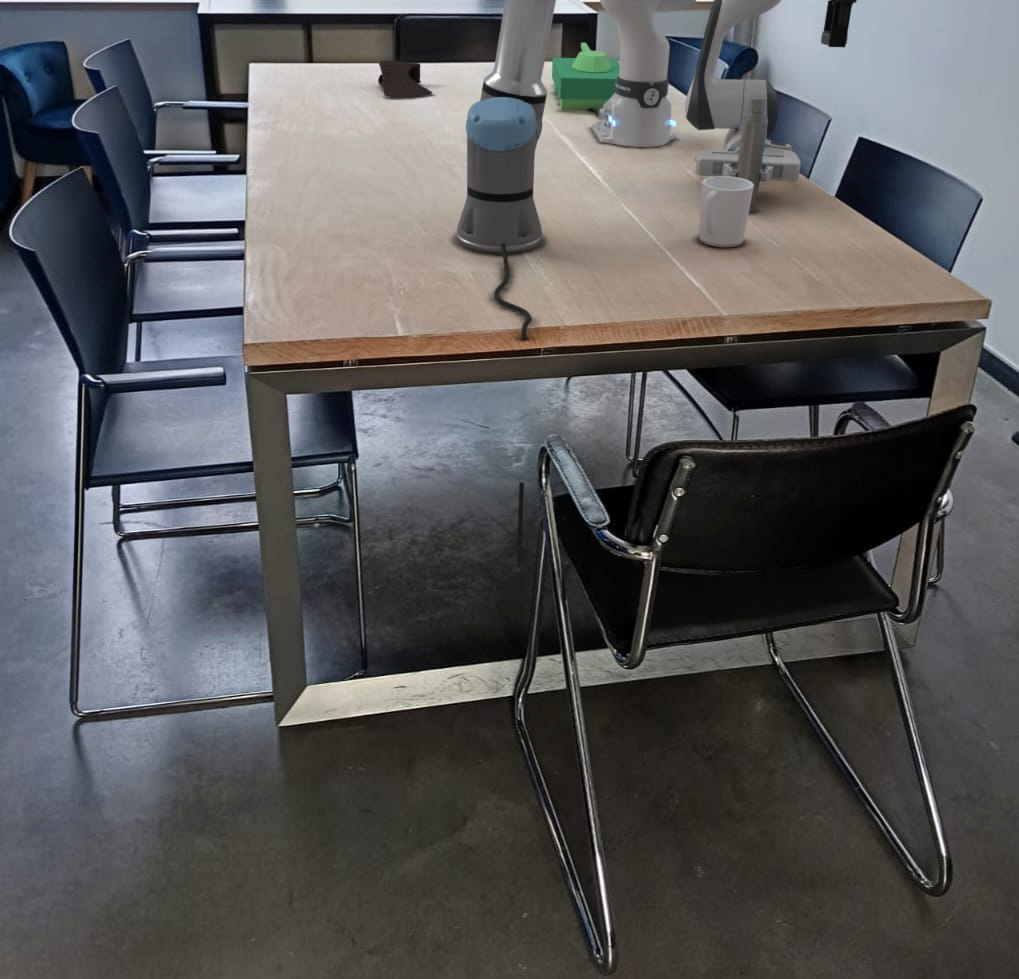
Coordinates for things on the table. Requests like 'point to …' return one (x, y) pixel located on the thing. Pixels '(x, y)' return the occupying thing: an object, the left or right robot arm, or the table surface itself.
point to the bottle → (753, 145)
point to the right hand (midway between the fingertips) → (748, 176)
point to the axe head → (401, 79)
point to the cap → (827, 37)
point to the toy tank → (585, 79)
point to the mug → (724, 210)
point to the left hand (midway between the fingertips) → (833, 44)
